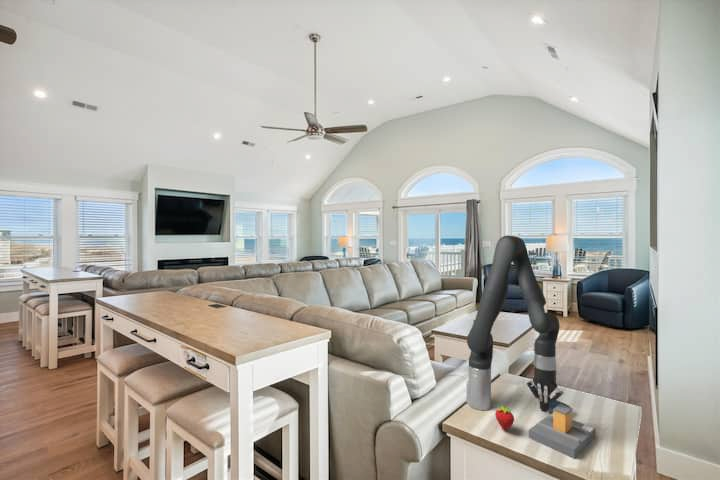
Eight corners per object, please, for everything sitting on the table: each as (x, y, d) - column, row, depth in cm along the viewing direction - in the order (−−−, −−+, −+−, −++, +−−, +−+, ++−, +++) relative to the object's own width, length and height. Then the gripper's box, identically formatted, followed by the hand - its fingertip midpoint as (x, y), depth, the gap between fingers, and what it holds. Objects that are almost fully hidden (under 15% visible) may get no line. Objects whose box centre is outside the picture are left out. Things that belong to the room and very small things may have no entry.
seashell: (576, 411, 141) (560, 389, 149) (556, 416, 140) (541, 393, 148) (571, 420, 145) (555, 397, 153) (551, 424, 144) (537, 401, 152)
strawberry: (504, 437, 128) (505, 410, 128) (491, 426, 136) (491, 400, 135) (518, 434, 130) (518, 408, 130) (504, 424, 137) (504, 398, 137)
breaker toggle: (552, 428, 128) (553, 409, 128) (559, 423, 132) (560, 403, 132) (565, 433, 125) (565, 413, 125) (572, 427, 129) (572, 408, 129)
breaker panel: (528, 437, 128) (528, 427, 128) (552, 419, 141) (552, 410, 141) (574, 458, 116) (574, 447, 116) (595, 436, 129) (595, 426, 129)
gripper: (522, 363, 136) (522, 407, 136) (559, 373, 126) (558, 421, 126) (531, 358, 141) (531, 401, 141) (567, 368, 130) (567, 414, 131)
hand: (544, 411), depth 133 cm, fingers closed
